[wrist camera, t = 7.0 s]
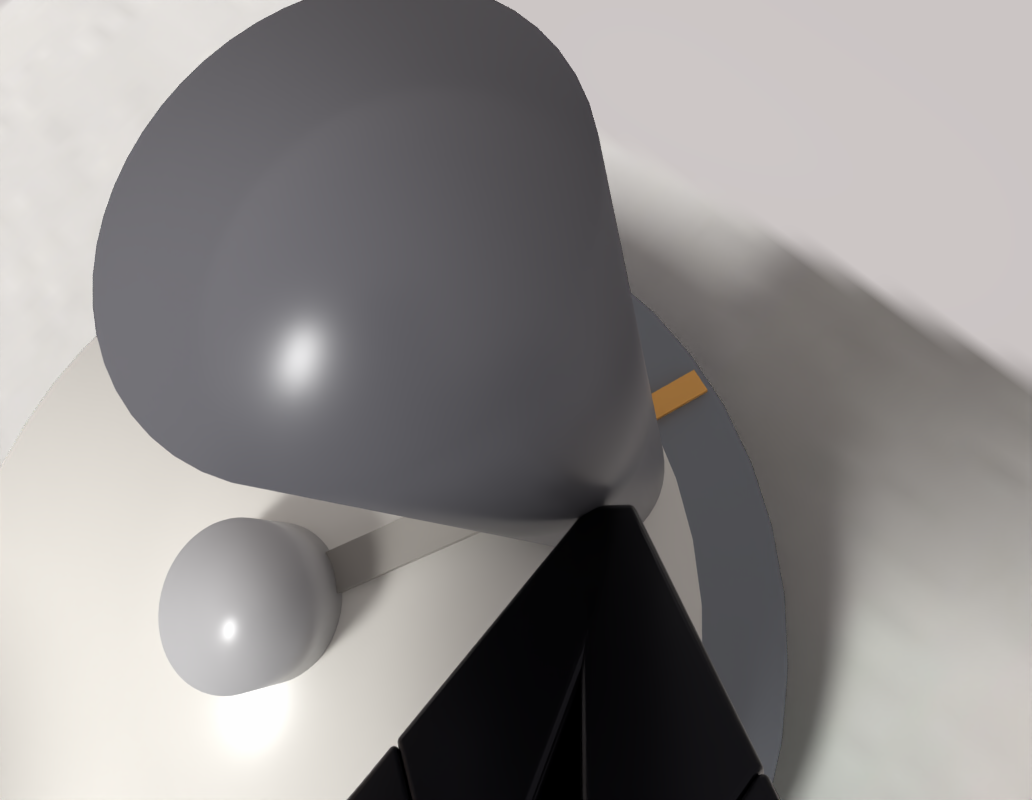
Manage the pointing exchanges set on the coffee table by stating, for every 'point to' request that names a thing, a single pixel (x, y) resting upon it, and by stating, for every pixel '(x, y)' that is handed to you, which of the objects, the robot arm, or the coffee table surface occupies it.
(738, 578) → the dial base
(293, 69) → the dial
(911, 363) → the coffee table surface
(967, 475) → the coffee table surface
